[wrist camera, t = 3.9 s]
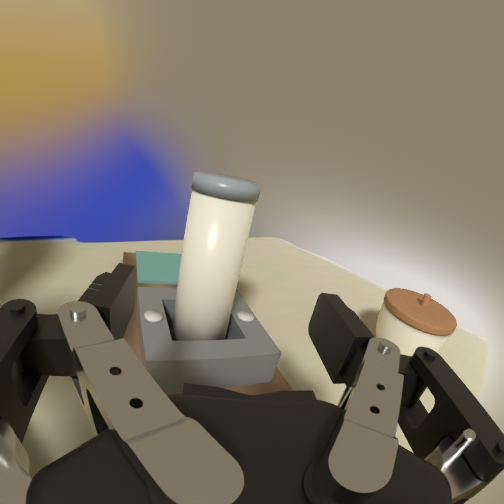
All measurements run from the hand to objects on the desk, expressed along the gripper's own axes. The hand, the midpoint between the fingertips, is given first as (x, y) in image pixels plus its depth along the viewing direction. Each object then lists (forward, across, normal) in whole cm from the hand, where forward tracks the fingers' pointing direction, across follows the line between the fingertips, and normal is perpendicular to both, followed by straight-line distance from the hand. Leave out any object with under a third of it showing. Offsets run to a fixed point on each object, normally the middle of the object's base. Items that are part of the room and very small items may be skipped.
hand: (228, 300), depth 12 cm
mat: (+29, -5, -12) cm, 32 cm away
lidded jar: (+14, +26, -14) cm, 33 cm away
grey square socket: (+12, 0, -12) cm, 17 cm away
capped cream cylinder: (+12, 0, -12) cm, 17 cm away
